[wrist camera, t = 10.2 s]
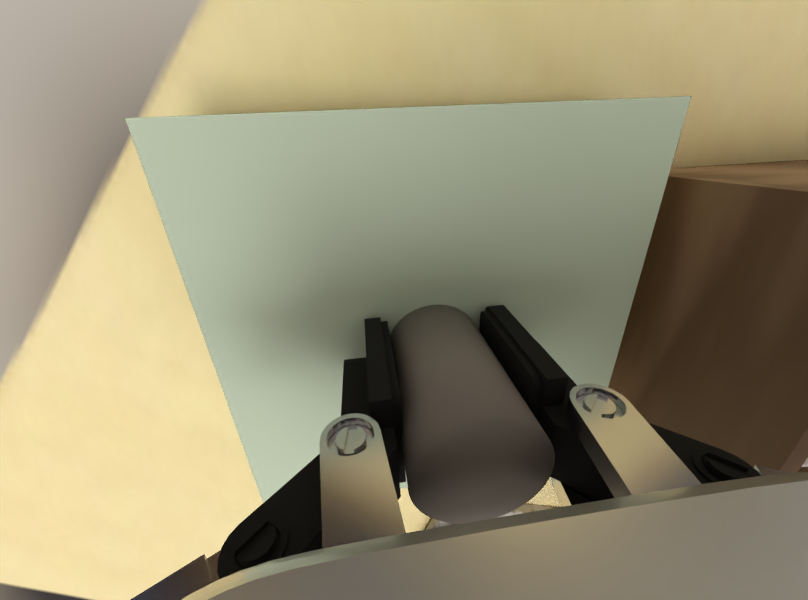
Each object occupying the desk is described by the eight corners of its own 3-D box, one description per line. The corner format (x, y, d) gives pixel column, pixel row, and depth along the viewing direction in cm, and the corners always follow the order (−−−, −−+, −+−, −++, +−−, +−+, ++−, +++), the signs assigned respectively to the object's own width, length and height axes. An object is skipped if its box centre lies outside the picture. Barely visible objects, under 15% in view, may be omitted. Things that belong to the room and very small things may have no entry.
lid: (636, 103, 11) (1015, 53, 5) (563, 426, 17) (682, 590, 11) (168, 122, 9) (-194, 89, 3) (275, 466, 16) (223, 682, 10)
